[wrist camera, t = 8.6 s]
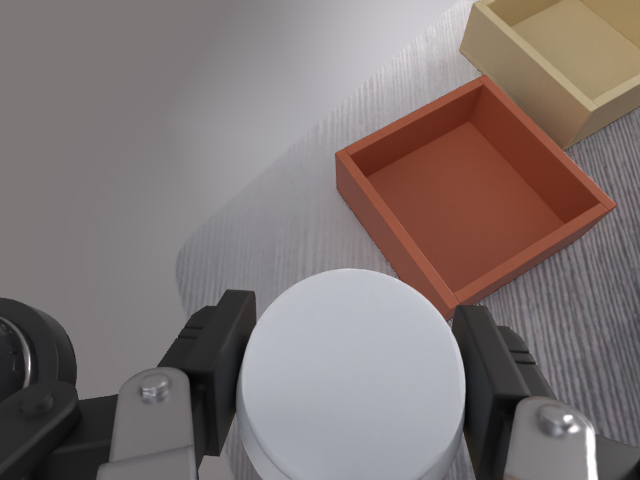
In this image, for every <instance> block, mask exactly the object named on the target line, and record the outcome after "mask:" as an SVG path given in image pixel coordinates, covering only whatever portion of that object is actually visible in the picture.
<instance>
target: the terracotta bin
mask: <svg viewBox="0 0 640 480" xmlns="http://www.w3.org/2000/svg"><path fill="white" fill-rule="evenodd" d="M335 159H336V184H337V189H338V191H339V192H340V194H341V195H342V197H343V198H344V199H345V201H346V202H347V204H348V205H349V206H350V208H351V209H352V211H353V212H354V213H355V215H356V216H357V218H358V219H359V221H360V222H361V223H362V225H363V226H364V228H365V229H366V230H367V232H368V233H369V235H370V236H371V237H372V239H373V240H374V242H375V243H376V245H377V246H378V247H379V249H380V250H381V252H382V253H383V254H384V256H385V257H386V259H387V260H388V261H389V263H390V264H391V266H392V267H393V269H394V270H395V271H396V273H397V274H398V276H399V277H400V278H401V280H402V281H403V282H404V283H405V284H407V285H409V286H410V287H412V288H414V289H415V290H416V291H418V292H419V293H421V294H422V295H423V296H424V297H425V298H426V299H427V300H428V301H429V302H430V303H431V304H432V305H433V306H434V307H435V308H436V309H437V310H438V311H439V313H440V314H441V315H442V317H443V318H444V320H445V321H448V320H450V319H451V318H453V317H454V312H455V308H456V306H457V305H471V306H472V305H474V304H475V303H477V302H478V301H480V300H481V299H483V298H485V297H486V296H488V295H489V294H491V293H493V292H494V291H496V290H497V289H499V288H501V287H502V286H504V285H505V284H507V283H509V282H510V281H512V280H513V279H515V278H516V277H518V276H520V275H521V274H523V273H524V272H526V271H528V270H529V269H531V268H532V267H534V266H536V265H537V264H539V263H540V262H542V261H544V260H545V259H547V258H548V257H550V256H551V255H553V254H555V253H556V252H558V251H559V250H561V249H563V248H564V247H566V246H567V245H569V244H571V243H572V242H574V241H575V240H577V239H579V238H580V237H582V236H583V235H584V234H585V233H586V232H587V231H589V230H590V229H591V228H592V227H593V226H594V225H596V224H597V223H598V222H599V221H600V220H601V219H602V218H604V217H605V216H606V215H607V214H608V213H609V212H611V211H612V210H613V209H614V208H615V207H616V206H617V204H616V203H615V202H614V201H613V200H612V199H611V198H610V197H609V196H608V195H607V194H606V193H605V192H604V191H603V190H602V189H601V188H600V187H599V186H598V185H596V184H595V183H594V182H593V181H592V180H591V179H590V178H589V177H588V176H587V175H586V174H585V173H584V172H583V171H582V170H581V169H580V168H579V167H578V166H577V165H576V164H575V163H574V162H573V161H572V160H571V159H570V158H569V157H568V156H567V155H566V154H565V153H564V152H563V151H562V150H561V149H560V148H559V147H558V146H557V145H556V144H555V143H554V142H553V141H552V140H551V139H550V138H549V137H548V136H547V135H546V134H545V133H544V132H543V131H542V130H541V129H540V128H539V127H538V126H537V125H536V124H535V123H534V122H533V121H532V120H531V119H530V118H529V117H528V116H527V115H526V114H525V113H524V112H523V111H522V110H521V109H520V108H519V107H518V106H517V105H516V104H515V103H514V102H513V101H512V100H511V99H510V98H509V97H508V96H507V95H506V94H505V93H504V92H503V91H502V90H501V89H500V88H499V87H498V86H497V85H496V84H495V83H494V82H493V81H492V80H491V79H490V78H489V77H488V76H487V75H486V74H484V75H482V76H481V77H479V78H476V79H475V80H473V81H471V82H469V83H467V84H465V85H463V86H461V87H459V88H458V89H456V90H454V91H452V92H450V93H448V94H446V95H444V96H442V97H441V98H439V99H437V100H435V101H433V102H431V103H429V104H427V105H425V106H423V107H422V108H420V109H418V110H416V111H414V112H412V113H410V114H408V115H406V116H405V117H403V118H401V119H399V120H397V121H395V122H393V123H391V124H389V125H388V126H386V127H384V128H382V129H380V130H378V131H376V132H374V133H372V134H370V135H369V136H367V137H365V138H363V139H361V140H359V141H357V142H355V143H353V144H352V145H350V146H348V147H346V148H344V149H342V150H340V151H338V152H336V153H335Z"/></svg>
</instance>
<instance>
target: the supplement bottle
mask: <svg viewBox="0 0 640 480" xmlns="http://www.w3.org/2000/svg"><path fill="white" fill-rule="evenodd" d="M236 415H237V422H238V427H239V431H240V435H241V439H242V442H243V445H244V448H245V450H246V452H247V454H248V457H249V459H250V461H251V462H252V464H253V466H254V468H255V469H256V471H257V472H258V474H259V475H260V477H261V478H262V479H263V480H442V479H443V478H444V476H445V475H446V473H447V471H448V469H449V468H450V466H451V464H452V462H453V460H454V458H455V455H456V453H457V450H458V448H459V445H460V441H461V437H462V433H463V426H464V417H465V373H464V367H463V361H462V357H461V354H460V350H459V347H458V344H457V342H456V339H455V337H454V335H453V333H452V331H451V329H450V327H449V326H448V324H447V323H446V321H445V320H444V318H443V317H442V315H441V314H440V313H439V311H438V310H437V309H436V308H435V307H434V306H433V305H432V304H431V303H430V302H429V301H428V300H427V299H426V298H425V297H424V296H423V295H422V294H421V293H419V292H418V291H416V290H415V289H414V288H412V287H410V286H409V285H407V284H405V283H404V282H402V281H400V280H398V279H395V278H393V277H391V276H388V275H385V274H382V273H379V272H375V271H370V270H364V269H337V270H331V271H326V272H323V273H319V274H316V275H313V276H310V277H308V278H306V279H304V280H302V281H300V282H298V283H296V284H295V285H293V286H291V287H290V288H288V289H287V290H286V291H284V292H283V293H282V294H281V295H280V296H279V297H277V298H276V299H275V300H274V301H273V302H272V303H271V304H270V306H269V307H268V308H267V310H266V311H265V312H264V313H263V315H262V316H261V317H260V319H259V320H258V322H257V324H256V326H255V328H254V329H253V331H252V334H251V336H250V339H249V342H248V344H247V347H246V351H245V354H244V358H243V361H242V364H241V368H240V372H239V376H238V381H237V387H236Z"/></svg>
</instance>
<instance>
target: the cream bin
mask: <svg viewBox="0 0 640 480" xmlns="http://www.w3.org/2000/svg"><path fill="white" fill-rule="evenodd" d="M460 52H461V53H462V54H463V55H464V56H465V57H466V58H467V59H468V60H469V61H470V62H471V63H472V64H473V65H474V66H475V67H476V68H477V69H478V70H479V71H480V72H481V73H482V74H483V75H484V74H486V75H487V76H488V77H489V78H490V79H491V80H492V81H493V82H494V83H495V84H496V85H497V86H498V87H499V88H500V89H501V90H502V91H503V92H504V93H505V94H506V95H507V96H508V97H509V98H510V99H511V100H512V101H513V102H514V103H515V104H516V105H517V106H518V107H519V108H520V109H521V110H522V111H523V112H524V113H525V114H526V115H527V116H528V117H529V118H530V119H531V120H532V121H533V122H534V123H535V124H536V125H537V126H538V127H539V128H540V129H541V130H542V131H543V132H544V133H545V134H546V135H547V136H548V137H549V138H550V139H551V140H552V141H553V142H554V143H555V144H556V145H557V146H558V147H559V148H560V149H561V150H562V151H564V150H565V149H567V148H569V147H571V146H572V145H574V144H576V143H577V142H579V141H581V140H583V139H584V138H586V137H588V136H589V135H591V134H593V133H595V132H596V131H598V130H600V129H601V128H603V127H605V126H607V125H608V124H610V123H612V122H613V121H615V120H617V119H619V118H620V117H622V116H624V115H625V114H627V113H629V112H631V111H632V110H634V109H636V108H637V107H639V106H640V0H479V1H477V2H475V3H473V5H472V9H471V12H470V16H469V19H468V23H467V26H466V30H465V33H464V37H463V40H462V43H461V47H460Z"/></svg>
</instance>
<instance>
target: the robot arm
mask: <svg viewBox="0 0 640 480" xmlns="http://www.w3.org/2000/svg"><path fill="white" fill-rule="evenodd" d="M255 326H256V297H255V293H254V291H245V290H229V289H228V290H226V291H225V293H224V295H223V296H222V298H221V299H220V301H219V303H218V304H217V306H205V307H204V308H202V309H201V310H199V311H198V312H196V313H194V314H193V315H192V316H191V318H190V319H189V320H188V322H187V323H186V325H185V327H184V329H182V331H181V332H180V334H179V335H178V338H176V339H175V341H174V343H173V344H172V345H171V347H170V348H169V350H168V351H167V353H166V354H165V356H164V357H163V359H162V360H161V361H160V363H159V364H158V366H157V367H156V368H152V369H148V370H145V371H142V372H140V373H138V374H136V375H134V376H132V377H131V378H129V379H128V380H127V381H126V382H125V383H124V384H123V385H122V387H121V389H120V391H119V394H116V395H111V396H105V397H98V398H92V399H85V400H79V399H78V394H77V390H76V388H75V387H74V386H73V385H72V384H70V383H68V382H64V381H46V382H41V383H37V384H36V382H37V374H38V362H37V355H36V351H35V348H34V345H33V343H32V341H31V339H30V337H29V336H28V334H27V333H26V332H25V331H24V329H23V328H21V327H20V326H19V325H18V324H16V323H15V322H13V321H11V320H9V319H7V318H4V317H1V316H0V480H199V476H198V469H199V467H200V464H201V462H202V459H203V456H204V455H209V456H220V453H221V451H222V448H223V445H224V443H225V440H226V437H227V434H228V432H229V429H230V426H231V423H232V421H233V418H234V415H235V413H236V387H237V381H238V376H239V372H240V368H241V364H242V361H243V358H244V354H245V351H246V347H247V344H248V342H249V339H250V336H251V334H252V331H253V329H254V328H255ZM452 333H453V335H454V337H455V339H456V342H457V344H458V347H459V350H460V354H461V357H462V361H463V367H464V373H465V417H464V426H463V432H464V436H465V440H466V444H467V447H468V451H469V455H470V458H471V462H472V466H473V469H474V473H475V477H476V480H640V448H638V447H634V446H631V445H628V444H624V443H621V442H618V441H614V440H611V439H608V438H605V437H602V436H600V435H597V434H595V431H594V428H593V426H592V424H591V423H590V421H589V420H588V419H587V418H586V417H585V416H584V415H583V414H582V413H581V412H580V411H578V410H577V409H575V408H574V407H572V406H570V405H569V404H566V403H564V402H562V401H559V400H557V398H556V397H555V395H554V393H553V391H552V390H551V388H550V386H549V384H548V383H547V381H546V379H545V378H544V376H543V374H542V372H541V371H540V369H539V367H538V365H536V362H535V360H534V358H533V357H532V355H531V354H529V350H528V348H527V346H526V345H525V343H524V341H523V339H522V338H521V337H520V336H518V335H517V334H516V333H515V332H513V331H512V330H511V329H510V328H508V327H507V326H497V325H496V324H495V322H494V320H493V318H492V316H491V314H490V312H489V310H488V308H487V307H485V306H471V305H457V306H456V308H455V312H454V318H453V325H452Z"/></svg>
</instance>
